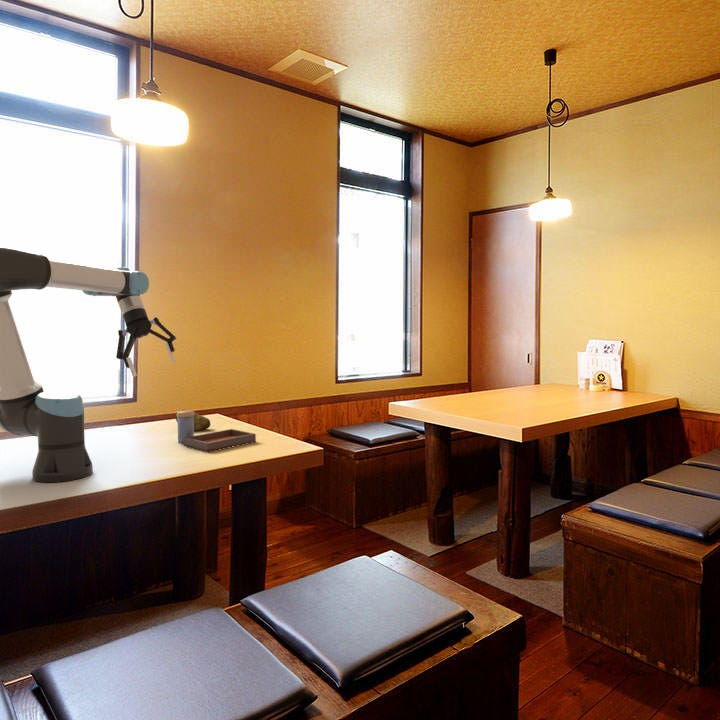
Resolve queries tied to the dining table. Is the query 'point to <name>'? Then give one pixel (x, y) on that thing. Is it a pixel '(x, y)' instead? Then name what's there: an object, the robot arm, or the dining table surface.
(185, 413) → the shaker
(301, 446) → the dining table surface
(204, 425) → the potato
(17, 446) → the dining table surface
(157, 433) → the dining table surface
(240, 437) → the tray
